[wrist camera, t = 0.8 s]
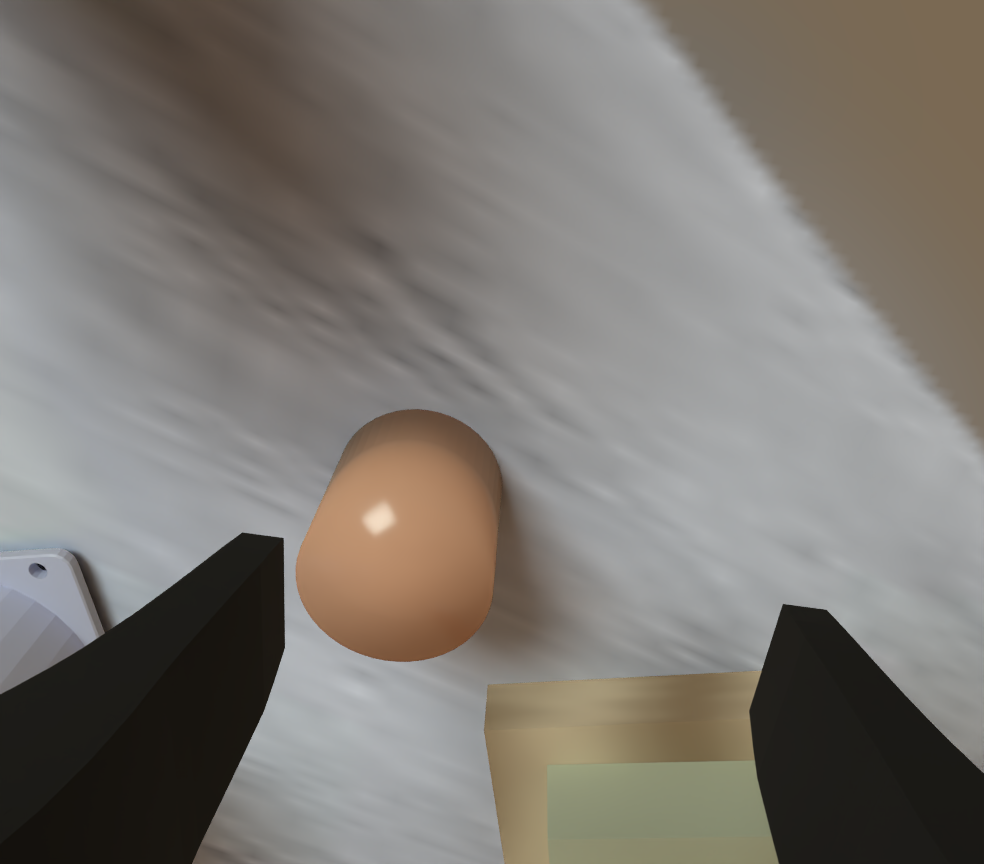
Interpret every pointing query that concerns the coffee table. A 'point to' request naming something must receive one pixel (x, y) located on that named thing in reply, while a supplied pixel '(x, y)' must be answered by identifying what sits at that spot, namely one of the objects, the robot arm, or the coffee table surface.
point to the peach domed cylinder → (404, 539)
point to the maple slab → (604, 736)
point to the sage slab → (657, 814)
